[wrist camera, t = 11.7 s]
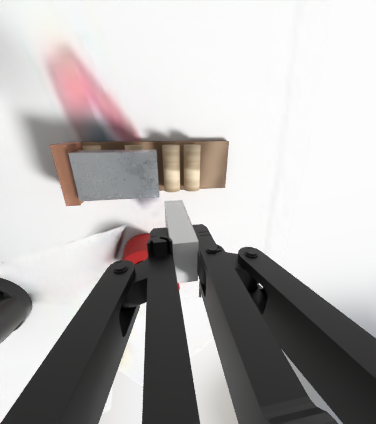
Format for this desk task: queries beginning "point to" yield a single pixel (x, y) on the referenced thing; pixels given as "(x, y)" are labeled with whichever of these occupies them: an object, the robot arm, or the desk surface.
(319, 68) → the desk surface
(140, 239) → the lever
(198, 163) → the roller
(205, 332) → the desk surface
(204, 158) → the board
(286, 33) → the desk surface
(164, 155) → the cylinder
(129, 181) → the slab
